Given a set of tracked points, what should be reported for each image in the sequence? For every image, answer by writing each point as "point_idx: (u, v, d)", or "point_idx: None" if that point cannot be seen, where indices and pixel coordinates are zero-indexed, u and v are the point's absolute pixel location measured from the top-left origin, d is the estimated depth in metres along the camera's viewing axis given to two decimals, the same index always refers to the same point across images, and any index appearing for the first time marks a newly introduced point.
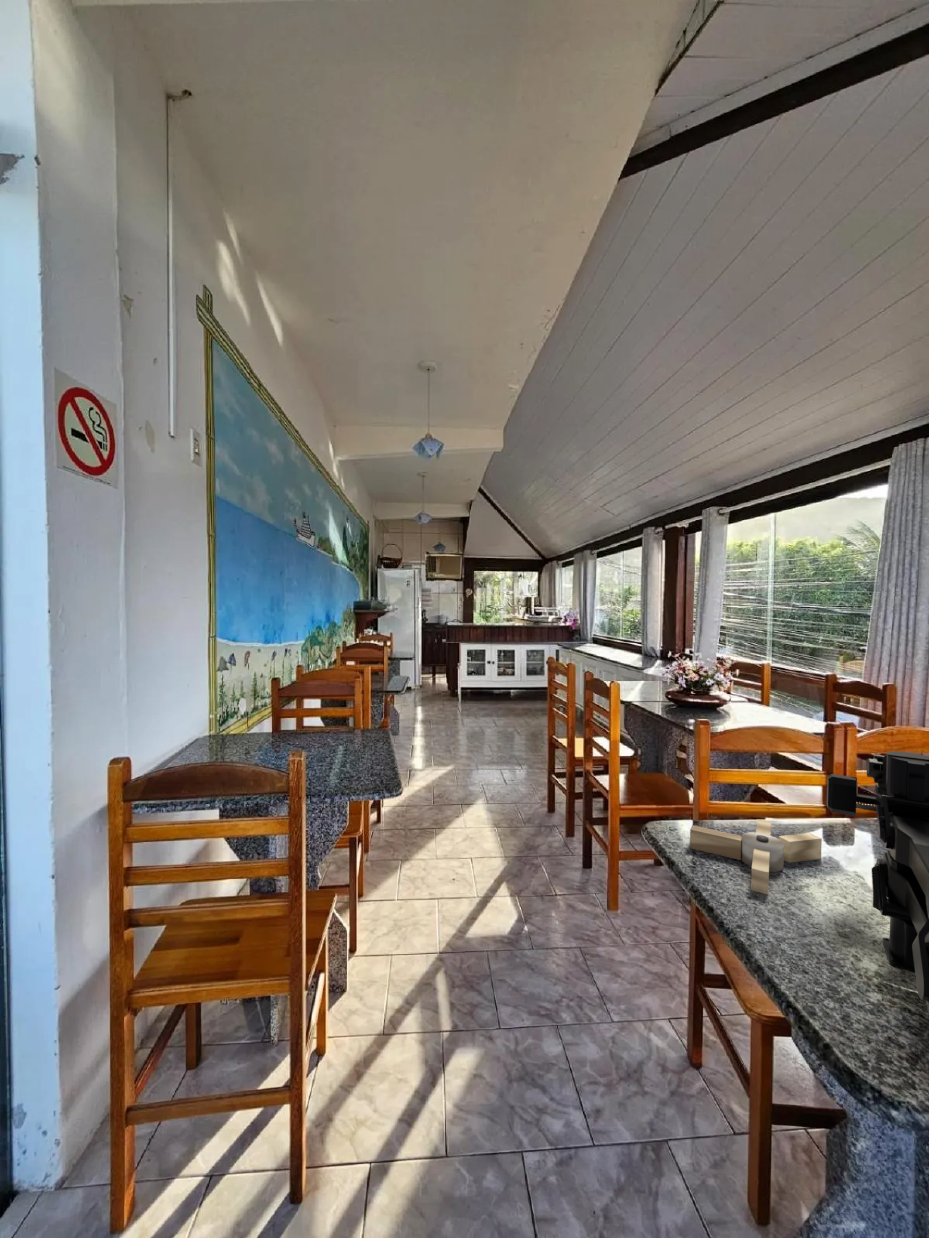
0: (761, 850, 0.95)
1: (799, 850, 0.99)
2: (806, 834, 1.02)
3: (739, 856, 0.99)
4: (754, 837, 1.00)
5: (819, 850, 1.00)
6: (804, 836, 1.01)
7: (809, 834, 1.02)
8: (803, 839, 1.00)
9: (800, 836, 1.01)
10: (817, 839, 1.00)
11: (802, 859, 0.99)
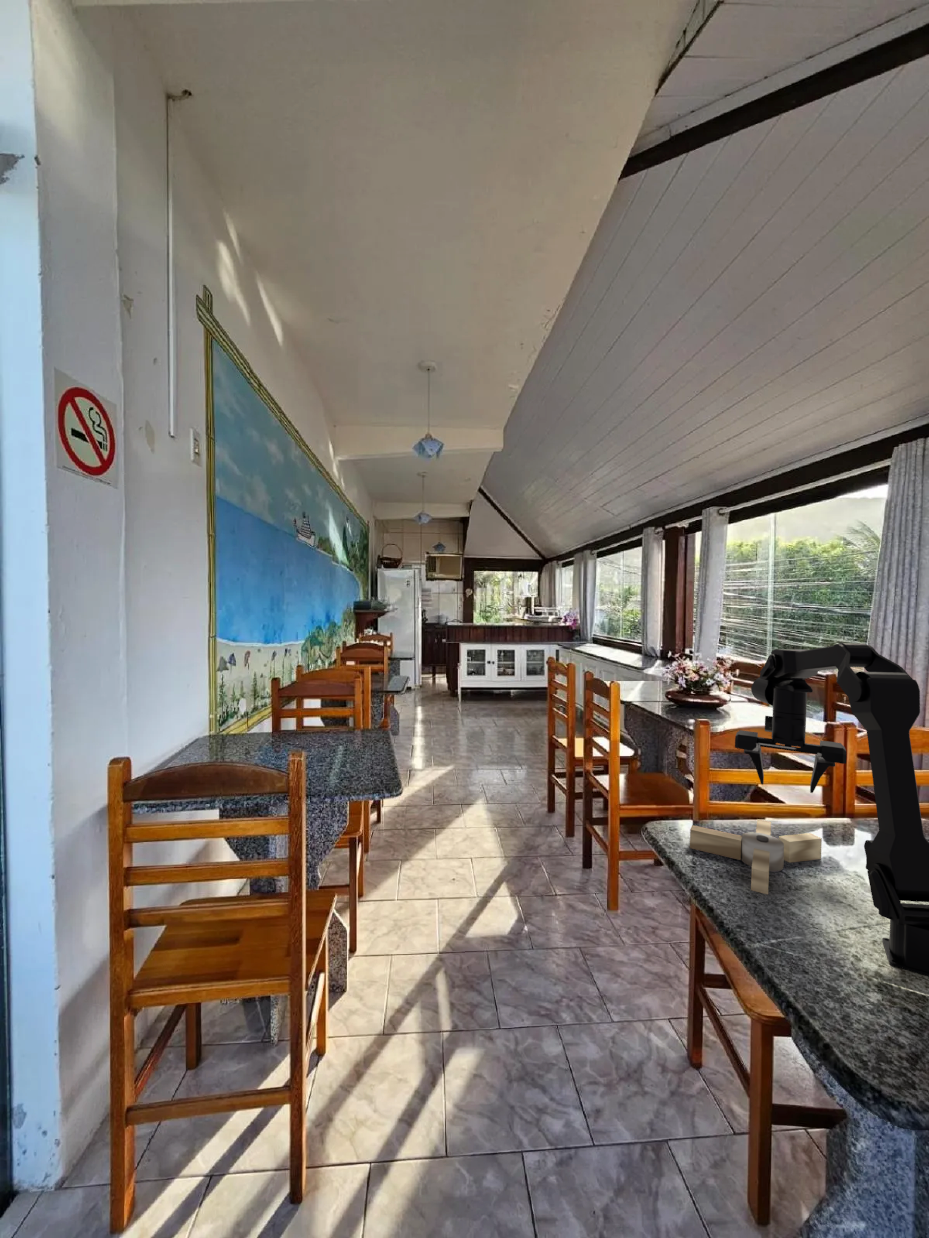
0: (761, 850, 0.95)
1: (799, 850, 0.99)
2: (806, 834, 1.02)
3: (739, 856, 0.99)
4: (754, 837, 1.00)
5: (819, 850, 1.00)
6: (804, 836, 1.01)
7: (809, 834, 1.02)
8: (803, 839, 1.00)
9: (800, 836, 1.01)
10: (817, 839, 1.00)
11: (802, 859, 0.99)
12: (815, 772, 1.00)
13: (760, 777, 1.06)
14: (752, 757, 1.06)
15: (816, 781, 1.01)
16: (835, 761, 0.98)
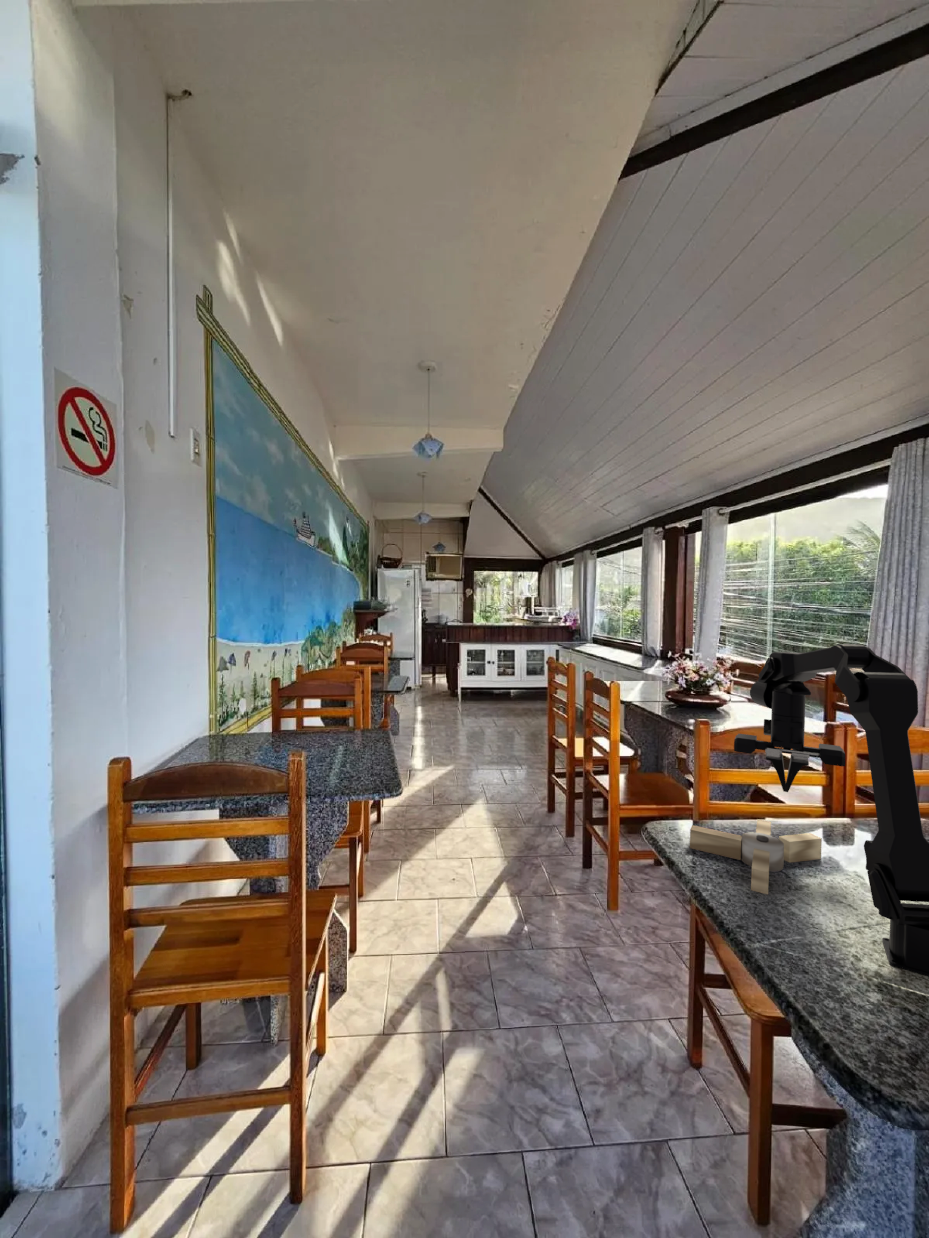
0: (761, 850, 0.95)
1: (799, 850, 0.99)
2: (806, 834, 1.02)
3: (739, 856, 0.99)
4: (754, 837, 1.00)
5: (819, 850, 1.00)
6: (804, 836, 1.01)
7: (809, 834, 1.02)
8: (803, 839, 1.00)
9: (800, 836, 1.01)
10: (817, 839, 1.00)
11: (802, 859, 0.99)
12: (790, 771, 1.03)
13: (782, 784, 1.04)
14: (774, 764, 1.04)
15: (791, 780, 1.03)
16: (834, 764, 0.98)
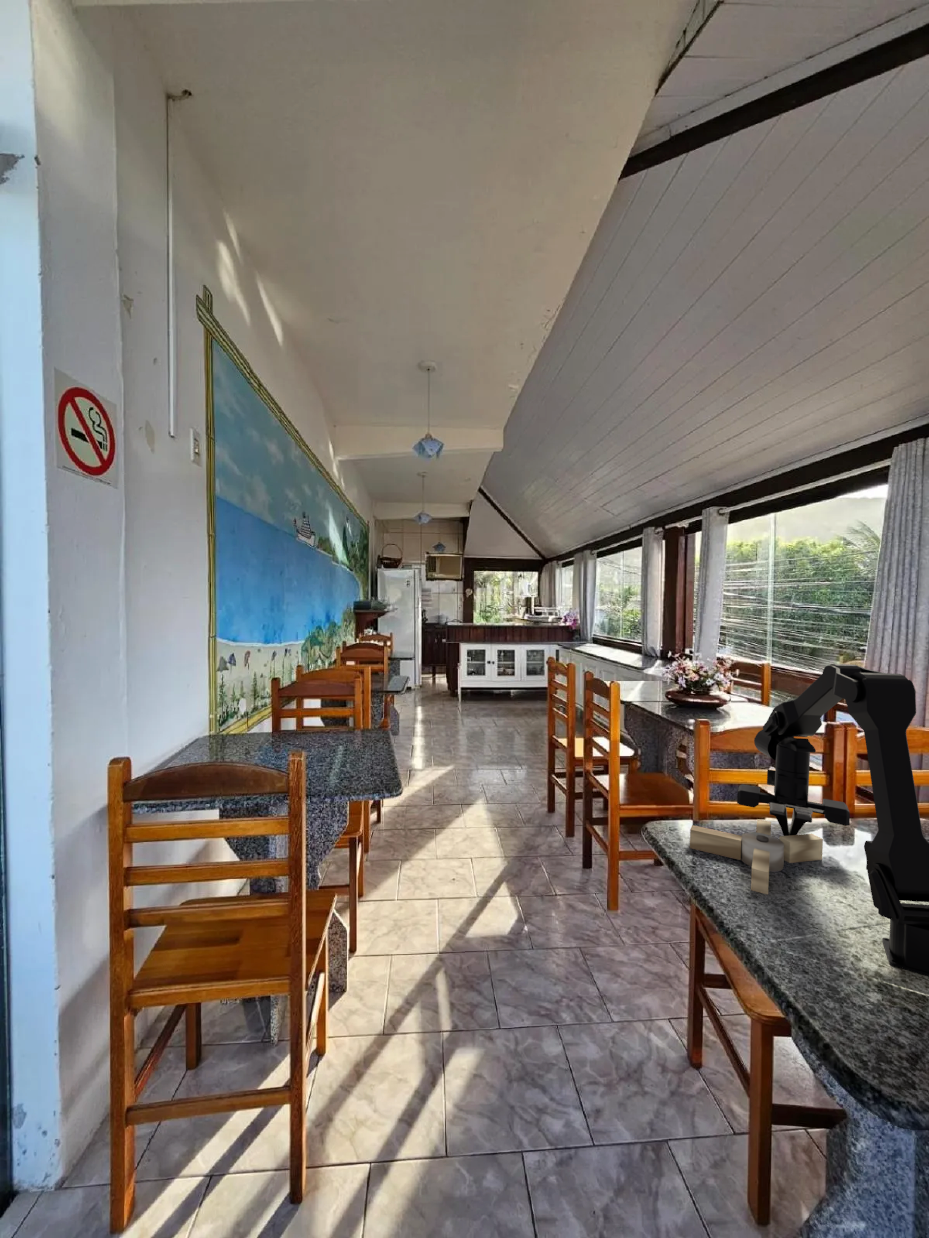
0: (761, 850, 0.95)
1: (799, 851, 0.99)
2: (807, 835, 1.01)
3: (739, 856, 0.99)
4: (754, 837, 1.00)
5: (820, 851, 1.00)
6: (805, 837, 1.01)
7: (810, 834, 1.02)
8: (804, 839, 0.99)
9: (801, 836, 1.01)
10: (818, 840, 1.00)
11: (803, 859, 0.99)
12: (793, 827, 1.02)
13: None
14: (778, 819, 1.03)
15: None
16: (838, 823, 0.97)
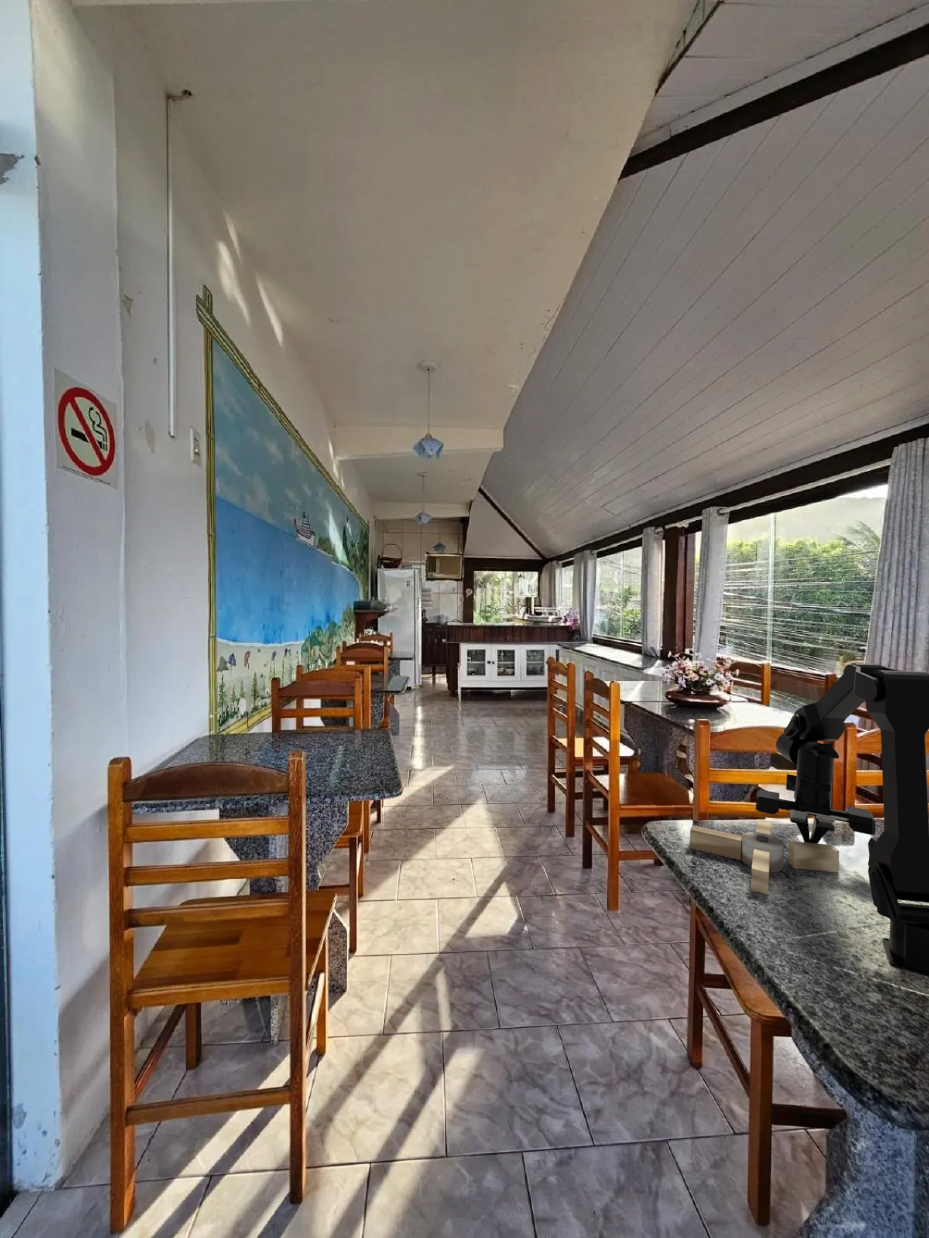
0: (761, 850, 0.95)
1: (807, 858, 0.96)
2: (824, 845, 0.97)
3: (739, 856, 0.99)
4: (754, 837, 1.00)
5: (836, 863, 0.95)
6: (819, 846, 0.97)
7: (828, 845, 0.97)
8: (814, 847, 0.96)
9: (814, 845, 0.97)
10: (833, 851, 0.95)
11: (812, 868, 0.96)
12: (814, 835, 0.98)
13: None
14: (799, 827, 0.99)
15: None
16: (863, 832, 0.93)
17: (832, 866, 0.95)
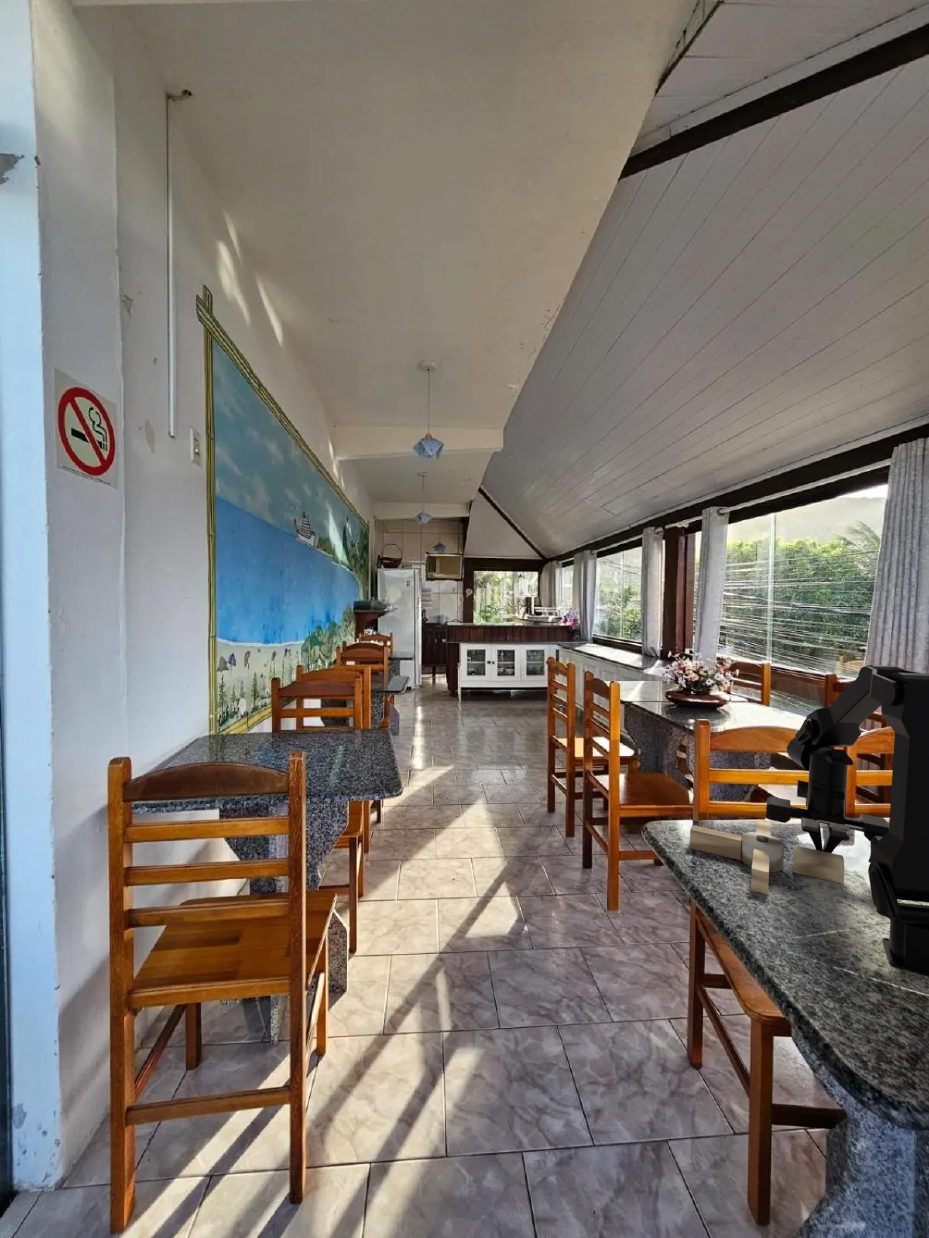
0: (761, 850, 0.95)
1: (808, 864, 0.94)
2: (831, 854, 0.93)
3: (739, 856, 0.99)
4: (754, 837, 1.00)
5: (840, 873, 0.91)
6: (824, 854, 0.94)
7: (837, 855, 0.93)
8: (817, 854, 0.93)
9: (820, 852, 0.94)
10: (837, 860, 0.92)
11: (813, 875, 0.93)
12: (827, 845, 0.94)
13: None
14: (812, 836, 0.95)
15: None
16: None
17: (836, 876, 0.92)
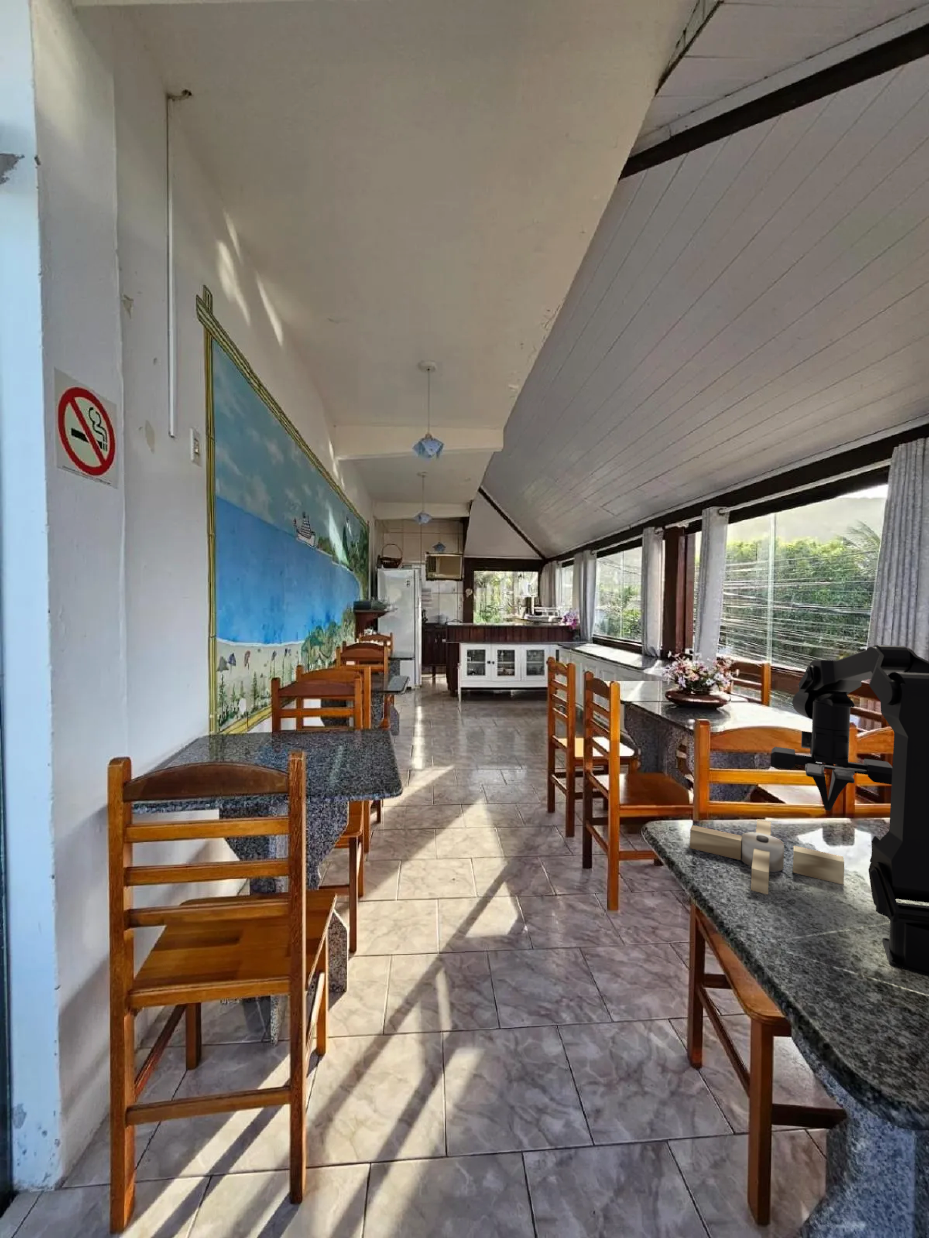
0: (761, 850, 0.95)
1: (808, 864, 0.94)
2: (832, 855, 0.93)
3: (739, 856, 0.99)
4: (754, 837, 1.00)
5: (840, 874, 0.91)
6: (824, 854, 0.93)
7: (838, 856, 0.93)
8: (817, 855, 0.93)
9: (820, 853, 0.94)
10: (837, 861, 0.91)
11: (813, 875, 0.93)
12: (833, 789, 0.95)
13: (824, 802, 0.97)
14: (816, 780, 0.96)
15: (834, 798, 0.96)
16: (883, 782, 0.91)
17: (836, 877, 0.91)
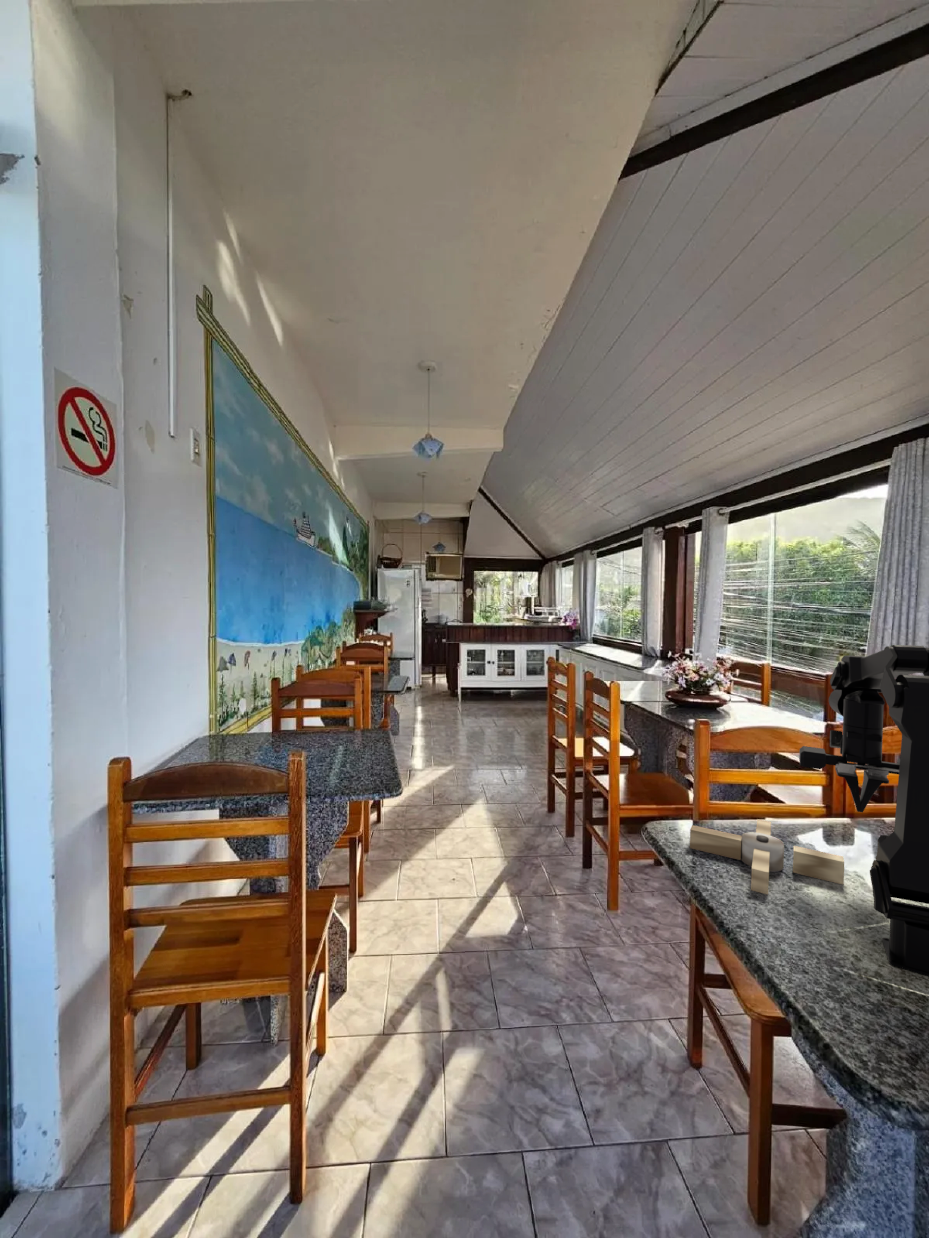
0: (761, 850, 0.95)
1: (808, 864, 0.94)
2: (832, 855, 0.93)
3: (739, 856, 0.99)
4: (754, 837, 1.00)
5: (840, 874, 0.91)
6: (824, 854, 0.93)
7: (838, 856, 0.93)
8: (817, 855, 0.93)
9: (820, 853, 0.94)
10: (837, 861, 0.91)
11: (813, 875, 0.93)
12: (866, 789, 0.92)
13: (856, 803, 0.93)
14: (848, 781, 0.93)
15: (867, 799, 0.92)
16: None
17: (836, 877, 0.91)
